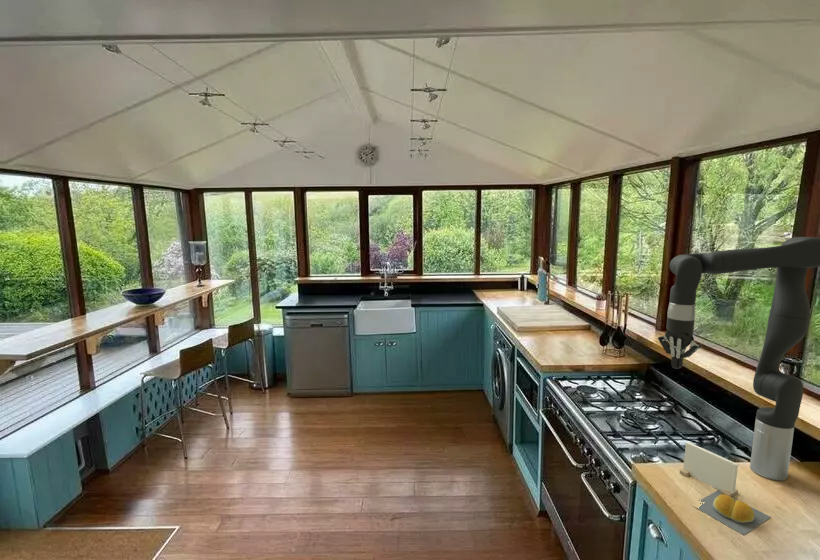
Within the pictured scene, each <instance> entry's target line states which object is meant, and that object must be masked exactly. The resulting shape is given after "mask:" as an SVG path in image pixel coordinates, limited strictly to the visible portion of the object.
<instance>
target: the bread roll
mask: <svg viewBox="0 0 820 560" xmlns="http://www.w3.org/2000/svg"><path fill="white" fill-rule="evenodd" d="M733 498H734V497H733ZM733 498H732V497H730V496H728V495H719V496H718V497H716V498H715V500H714V502H713V508H714V509H715V510H716V511H717V512H718V513H720V514H721V515H723V516H725V517H727V518H731V519H732V520H734V521H736V522H739V523H748V522H752V521H753V520H754V517H755V514H754V511H753V509H752V508H753V507H752V506H751V505H749V504H748V503H746V502H745V501H742V500H739V499H737V500H734V499H733ZM751 507H752V508H751Z"/></svg>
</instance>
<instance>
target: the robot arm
mask: <svg viewBox="0 0 820 560" xmlns="http://www.w3.org/2000/svg"><path fill="white" fill-rule="evenodd" d="M818 267H820V238H819V237H814V236H794V237H790V238H787V239H786V240H784V242H782V244H781V245H778V246H777V245H776V246H768V247H755V248H738V249H727V250H718V251H717V250H716V251H713V252H707V253H706V252H705V253H703V252H702V253H685V254H679V255H676V256H674V257H673V258H672V259H671V260H670V263H669V269H670V271H671V273H672V274H674V275H675V282H674V285H672V286H671V288H670V292H669V302H668V303H669V304H668V308H667V316H666V326H665V327H666V328H665V329H666V331H665V333H664V334H663V335H661V336H659V337H657V340H658V341H659V343H660V346H661V347H662V348H663V350H664V351H665V353H666V354H668V355H670V356H671V359H670V362H671V363H670V366H671V367H672V368H673V369H675V370H679V369H682V368H683V363H684V361H683V360H684V359H686V358H690V357H691V356H692V355H694V354H695V353H696V352H697V351H699V350H700V349H701V348H702V346H701V344H697V343H696V342H695V337H694V336H693V334H694V331H695V320H696V298H697V290H698V287H699V285H700V281H701V278H702V275H703V274H710V275H711V274H712V275H718V274H719V275H720V274H729V273H738V272H745V271H752V270H761V269H769V268H770V269H772V268H777V269H776V280H775V285H774V290H773V295H772V301H771V305H770V310H769V314H768V319H767V327H766V331H765V333H766V334H765V337H764V341H763V346H762V350H761V354H760V358H759V360H758V363H757V366H756V370H755V373H754V377H753V380H752V381H753V382H752V387H753V391H754V392H755V394H757V395H758V396H761V397H762V398H765V399H768V400H770V401H773V402H775V405H774V407H769V406H767V407H766V406H765V407H759V408H758V409H756V410H757V411H756V414H755V415H756V416H755V421H754V429H753V431H754V432H753V439H752V448H751V455H750V464H749V467H750V470H751V471H753V472H754V473H756V474H757V475H759V476H761V477H763V478H766V479H769V480H773V481H785V480H784V479H786V480H788V478H789V477H788V476H789V468H790V462H791V454H792V449H793V448H792V447H793V439H794V432H795V425H796V421H797V419H798V417H799V414H800V411H801V410H800V409H801V404H802V400H803V395H804V385H803V382H802V380H801V379H800V378H798V377H796V376H794V375H790V374H788V373H783V372H781V371H779V370H780V365H781V362H782V359H783V357H784V356H785V355H786V354H787V352H789V351H790V350H791V349H792V348H794V347H795V346H796V345H798V343H800V342H801V341H802V340H803V339H804V337H805V336H806V335H807V332H808V330H809V329H808V327H809V324H810V320H811V307H810V302H809V298H808V295H807V294H808V293H807V289H806V279H807V274H808V270H809V269H812V268H818ZM687 348H688V349H687Z"/></svg>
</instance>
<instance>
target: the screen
mask: <svg viewBox="0 0 820 560" xmlns="http://www.w3.org/2000/svg"><path fill="white" fill-rule="evenodd" d="M684 449H685V450H684V459H683V467H682V468H681V469H680V470H679V474H681V475H682V476H683V477H688V476H691V477H693V478H695V479H696V480H699V481H701V482H702V483H705V484H707V485H709V486H711V487H712V488H714V489H715V490H719V491H721V495H728V496H730V497H733V498H734V496H736V495H738V494H739V490H738V489H737V488H736V487H737V485H736V484H737V477H738V467H739V464H738V463H736V462H734V461H733V460H730V459H729V458H728V459H727V458H725V457H724V456H721V455H719V454H716V453H714V452H712V451H710V450H708V449H706V448H703V447H700V446H698V445H696V444H694V443H692V442H689V441H687V442H685V448H684Z"/></svg>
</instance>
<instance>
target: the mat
mask: <svg viewBox="0 0 820 560" xmlns="http://www.w3.org/2000/svg"><path fill="white" fill-rule="evenodd" d="M721 492H722V491H720V490H718V489H716V490H715V491H714V492H712V493H710V494H709V495H706V496H704V497H703V498H701V499H699V500H698V501H700V500H701V502H705V503H704V504H703V503H702V505H701V506H700V507H699V509H698V510H699V511H700V510H701V512H702V513H704V514H706V515H708V516H709V517H711V518H713V519H714V520H716V521H717V522H719V523H722V524H723V525H725V526H727V527H728V528H730V529H732V530H733V531H735V532H737V533H739V534H741V535H742V536H746V535H747V534H748V533H750V532H751V531H753V530H754V529H756V528H758V527H759V526H760V525H762V524H763V523H765V522H766V521H768V520H769V519H770V518H771V516H769V515H768V514H766V513H764V512H762V511H760V510H758V509H756V508H754V507H752V506H750V507H751V508H752V509H753V511H754V514H755V517H754V520H753V521H752V522H748V523H739V522H736V521H734V520H732V519H731V518H727V517H725V516H723V515H721V514H720V513H718V512H717V511H716V510H715V509H714V508H713V502H714V500H715V498H716V497H718V496H719V495H721ZM732 498H733V499H734V500H738V499H736V498H735V497H734V496H733V497H732ZM700 504H701V503H700Z"/></svg>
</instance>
